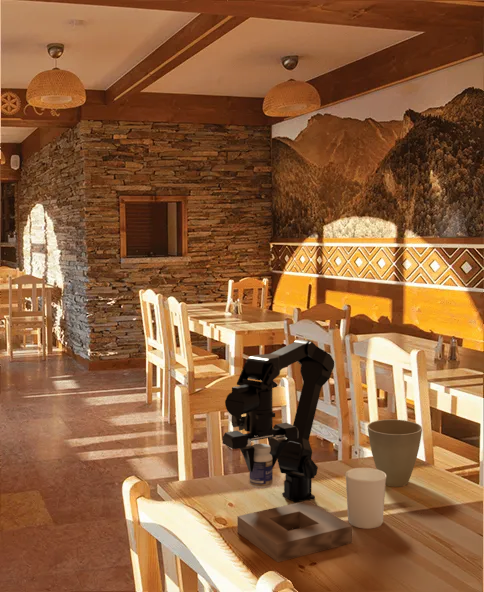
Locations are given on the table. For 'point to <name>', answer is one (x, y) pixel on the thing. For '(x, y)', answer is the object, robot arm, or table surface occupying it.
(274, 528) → the well block
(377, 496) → the candle holder
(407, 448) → the plant pot
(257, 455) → the pill bottle
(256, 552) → the table surface
